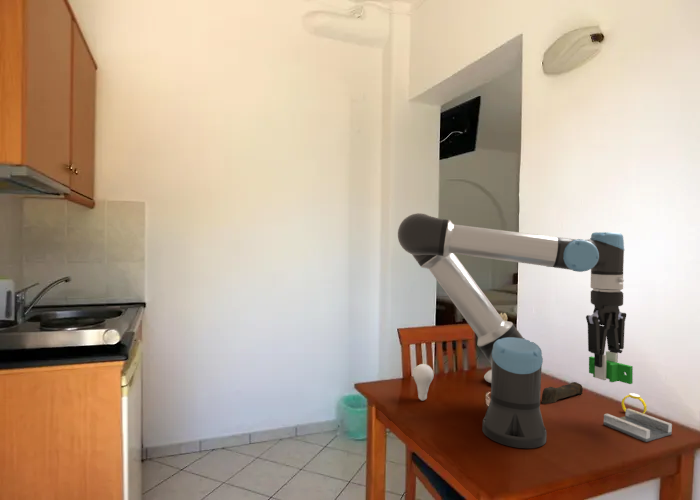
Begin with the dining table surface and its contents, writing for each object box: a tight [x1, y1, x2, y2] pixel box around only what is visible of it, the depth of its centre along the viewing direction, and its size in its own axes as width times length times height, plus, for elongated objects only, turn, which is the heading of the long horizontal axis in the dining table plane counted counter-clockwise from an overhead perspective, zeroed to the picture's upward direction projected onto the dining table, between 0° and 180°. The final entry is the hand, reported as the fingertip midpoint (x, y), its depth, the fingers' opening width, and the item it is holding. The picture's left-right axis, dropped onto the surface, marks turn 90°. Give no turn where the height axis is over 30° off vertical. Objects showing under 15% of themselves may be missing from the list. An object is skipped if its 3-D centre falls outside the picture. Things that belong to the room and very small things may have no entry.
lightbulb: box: [412, 363, 435, 401], centre depth 132 cm, size 6×6×11 cm
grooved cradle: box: [603, 408, 673, 443], centre depth 116 cm, size 11×11×3 cm
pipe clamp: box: [588, 355, 634, 385], centre depth 117 cm, size 11×4×5 cm, turn 27°
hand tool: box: [540, 381, 584, 405], centre depth 138 cm, size 19×4×5 cm, turn 120°
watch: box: [621, 392, 648, 414], centre depth 126 cm, size 6×3×6 cm, turn 42°
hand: (605, 377), depth 117 cm, fingers closed on pipe clamp, 4 cm apart
